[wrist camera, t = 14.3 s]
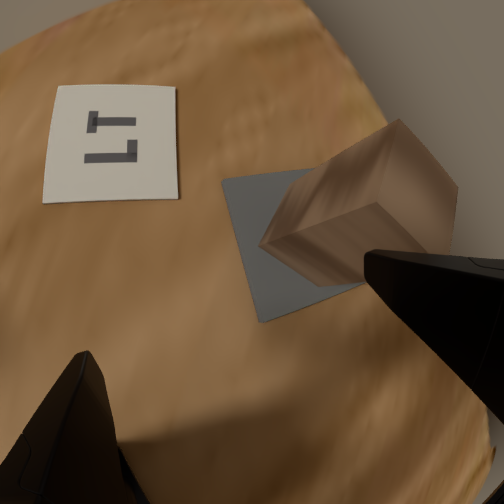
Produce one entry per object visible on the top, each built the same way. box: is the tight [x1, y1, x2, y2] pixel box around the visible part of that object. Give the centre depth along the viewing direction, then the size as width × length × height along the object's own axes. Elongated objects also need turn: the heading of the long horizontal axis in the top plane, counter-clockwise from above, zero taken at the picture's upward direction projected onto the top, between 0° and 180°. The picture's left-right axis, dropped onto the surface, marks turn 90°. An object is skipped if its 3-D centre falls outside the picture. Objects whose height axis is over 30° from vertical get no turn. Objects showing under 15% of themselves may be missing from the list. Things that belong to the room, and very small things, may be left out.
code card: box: [43, 84, 178, 204], centre depth 19 cm, size 9×9×1 cm
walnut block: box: [258, 119, 458, 287], centre depth 19 cm, size 6×6×11 cm
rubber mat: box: [221, 168, 366, 323], centre depth 24 cm, size 10×10×1 cm
